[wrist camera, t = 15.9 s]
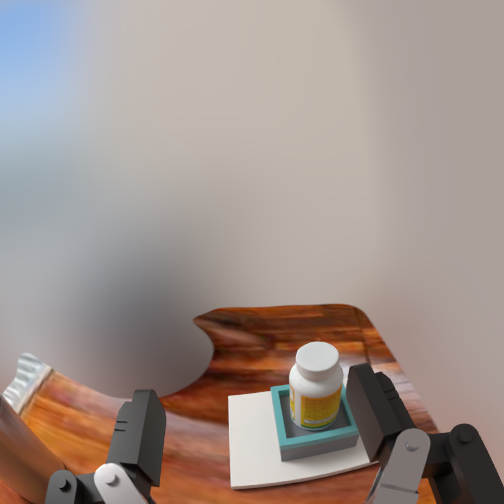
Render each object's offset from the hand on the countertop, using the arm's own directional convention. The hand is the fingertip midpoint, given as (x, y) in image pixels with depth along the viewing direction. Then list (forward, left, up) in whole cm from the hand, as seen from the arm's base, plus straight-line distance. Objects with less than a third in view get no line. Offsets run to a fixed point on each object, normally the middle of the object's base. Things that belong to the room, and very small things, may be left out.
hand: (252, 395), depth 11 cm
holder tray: (+6, +12, -24) cm, 27 cm away
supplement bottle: (+6, +12, -20) cm, 24 cm away
